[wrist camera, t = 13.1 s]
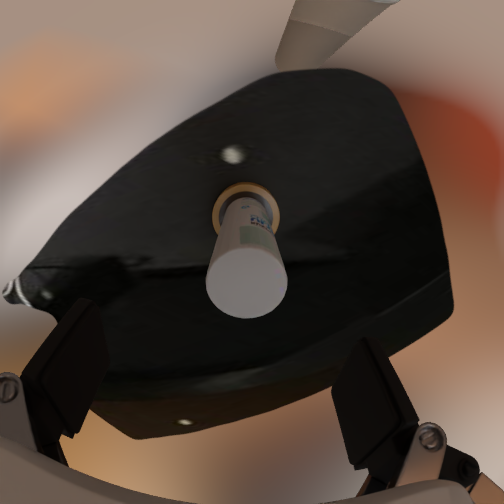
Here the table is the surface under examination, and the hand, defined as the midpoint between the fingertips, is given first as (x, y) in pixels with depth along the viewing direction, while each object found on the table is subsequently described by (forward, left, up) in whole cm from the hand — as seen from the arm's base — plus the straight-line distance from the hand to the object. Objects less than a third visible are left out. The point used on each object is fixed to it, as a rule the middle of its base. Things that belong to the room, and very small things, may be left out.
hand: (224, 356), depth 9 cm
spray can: (+4, +1, -32) cm, 32 cm away
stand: (+4, +1, -35) cm, 35 cm away
